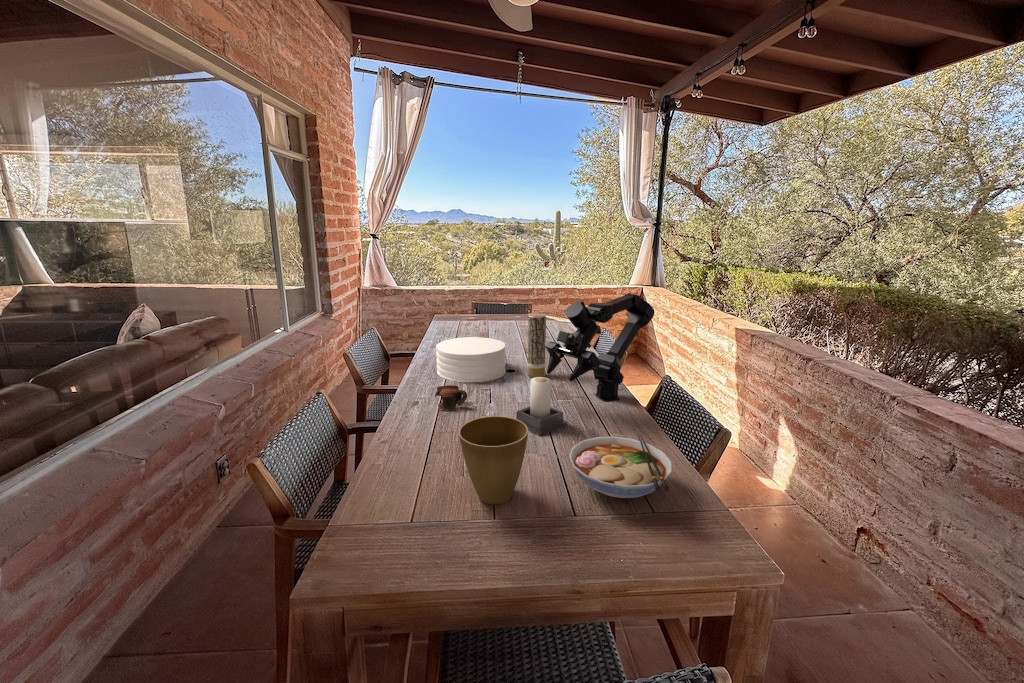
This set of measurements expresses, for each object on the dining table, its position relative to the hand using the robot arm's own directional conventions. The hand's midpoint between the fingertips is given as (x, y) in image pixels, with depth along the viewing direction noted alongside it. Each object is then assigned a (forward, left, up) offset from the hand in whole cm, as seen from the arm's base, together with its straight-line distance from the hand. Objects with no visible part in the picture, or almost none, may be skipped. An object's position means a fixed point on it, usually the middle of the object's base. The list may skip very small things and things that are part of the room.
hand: (558, 376), depth 141 cm
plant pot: (+31, +35, -14) cm, 49 cm away
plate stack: (+15, -54, -14) cm, 57 cm away
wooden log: (-9, -40, -14) cm, 43 cm away
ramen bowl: (+3, +41, -14) cm, 43 cm away
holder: (+7, +3, -13) cm, 15 cm away
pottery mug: (+30, -20, -14) cm, 38 cm away
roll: (+7, +3, -12) cm, 15 cm away
